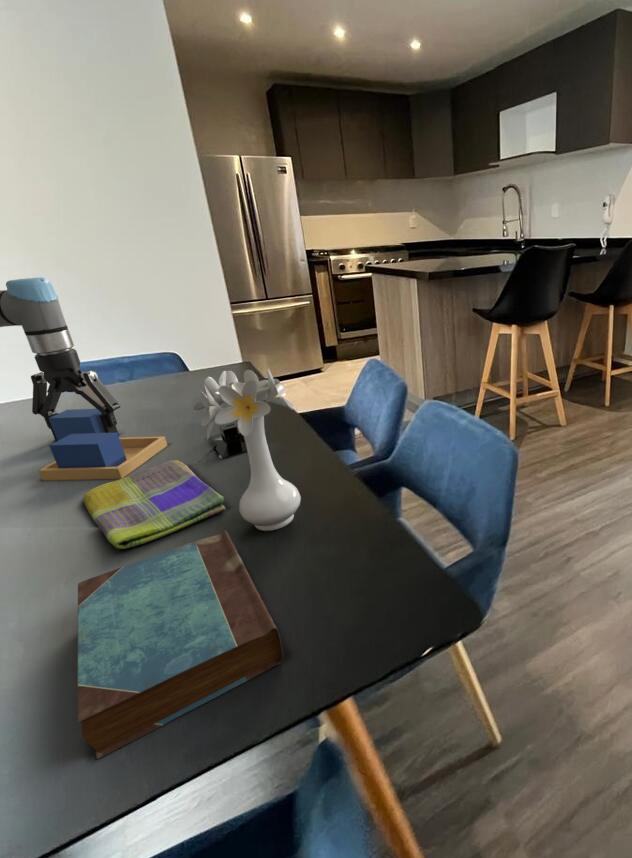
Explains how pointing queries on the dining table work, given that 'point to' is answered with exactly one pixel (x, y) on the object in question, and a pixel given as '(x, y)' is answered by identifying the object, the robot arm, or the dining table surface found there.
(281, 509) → the flower vase
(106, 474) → the wooden tray
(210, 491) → the dish towel
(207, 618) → the book
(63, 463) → the pad
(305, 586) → the dining table surface
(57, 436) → the pad
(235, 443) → the black box
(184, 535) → the dining table surface
